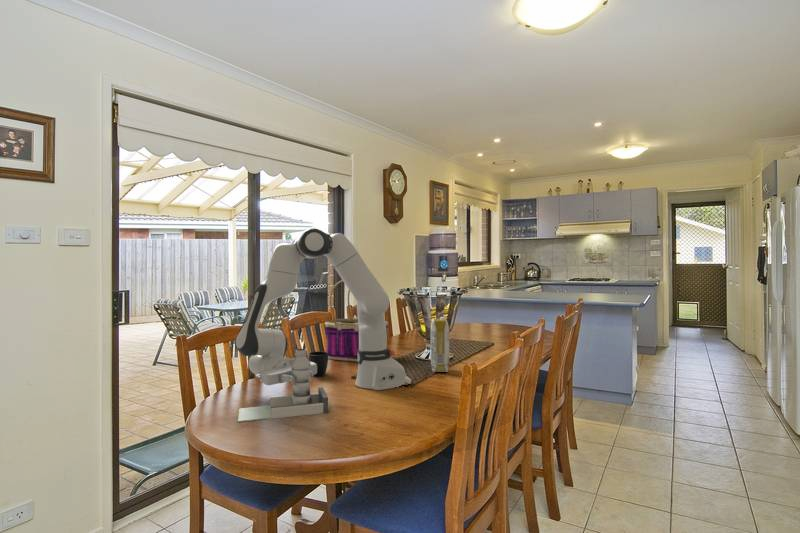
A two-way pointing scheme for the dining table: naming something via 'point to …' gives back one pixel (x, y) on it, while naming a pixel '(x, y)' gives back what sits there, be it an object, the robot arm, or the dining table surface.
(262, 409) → the pad
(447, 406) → the dining table surface
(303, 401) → the plastic bottle
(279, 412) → the channel
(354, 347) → the basket
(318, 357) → the mug
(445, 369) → the juice carton
